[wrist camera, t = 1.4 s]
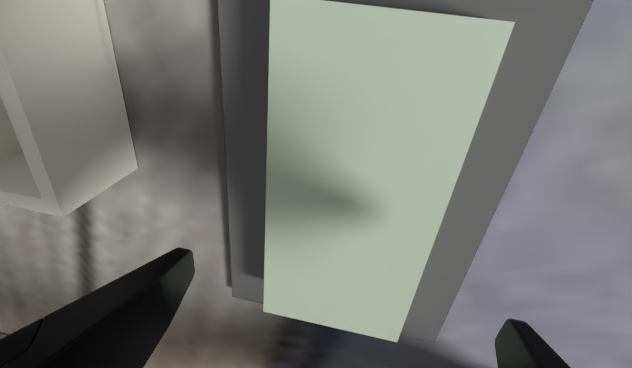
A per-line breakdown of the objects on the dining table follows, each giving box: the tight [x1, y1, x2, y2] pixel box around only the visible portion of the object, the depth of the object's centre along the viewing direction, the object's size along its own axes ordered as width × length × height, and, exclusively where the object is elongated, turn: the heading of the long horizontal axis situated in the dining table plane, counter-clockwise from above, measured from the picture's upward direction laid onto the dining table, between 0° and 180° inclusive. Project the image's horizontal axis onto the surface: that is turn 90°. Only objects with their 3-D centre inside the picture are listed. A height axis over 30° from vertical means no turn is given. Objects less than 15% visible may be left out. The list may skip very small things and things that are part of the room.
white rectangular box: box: [0, 0, 138, 217], centre depth 12 cm, size 11×6×4 cm, turn 174°
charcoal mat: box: [218, 0, 593, 342], centre depth 14 cm, size 18×12×1 cm, turn 174°
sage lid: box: [263, 0, 515, 342], centre depth 13 cm, size 14×7×2 cm, turn 174°
